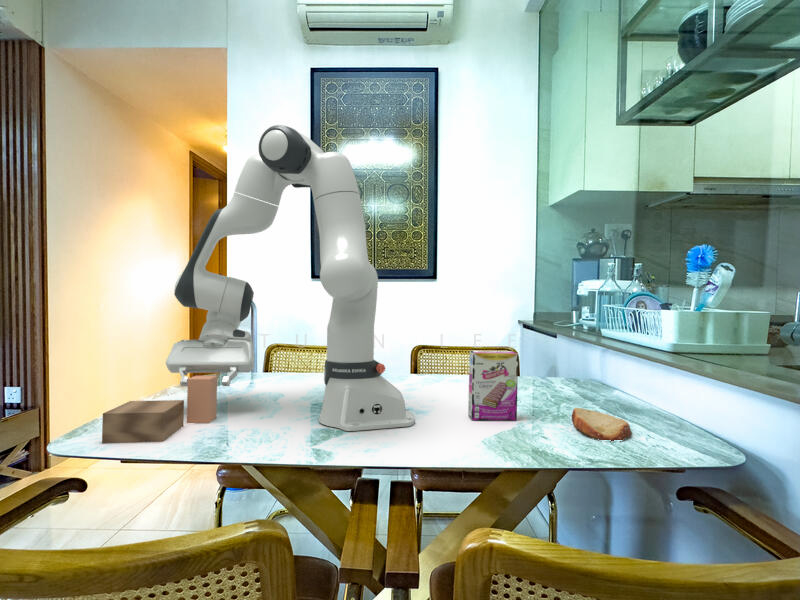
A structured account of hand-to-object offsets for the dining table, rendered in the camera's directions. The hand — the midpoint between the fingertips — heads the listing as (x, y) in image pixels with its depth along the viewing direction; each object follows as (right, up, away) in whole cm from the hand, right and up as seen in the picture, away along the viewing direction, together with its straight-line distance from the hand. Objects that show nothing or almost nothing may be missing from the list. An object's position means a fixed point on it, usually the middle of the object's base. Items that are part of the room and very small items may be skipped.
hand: (204, 385), depth 101 cm
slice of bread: (+91, -10, -4) cm, 91 cm away
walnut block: (-6, -8, -13) cm, 16 cm away
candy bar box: (+69, -9, +3) cm, 70 cm away
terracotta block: (0, -8, -2) cm, 8 cm away
